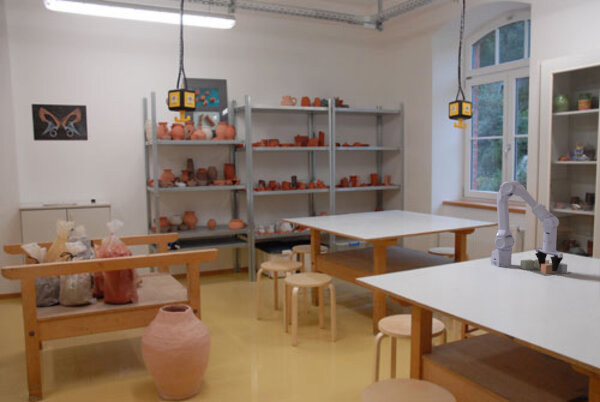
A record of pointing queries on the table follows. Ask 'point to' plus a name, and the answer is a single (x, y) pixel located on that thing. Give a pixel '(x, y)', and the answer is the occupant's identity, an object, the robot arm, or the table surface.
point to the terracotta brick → (547, 268)
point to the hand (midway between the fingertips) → (548, 269)
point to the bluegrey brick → (562, 268)
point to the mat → (544, 273)
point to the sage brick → (527, 264)
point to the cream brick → (538, 263)
